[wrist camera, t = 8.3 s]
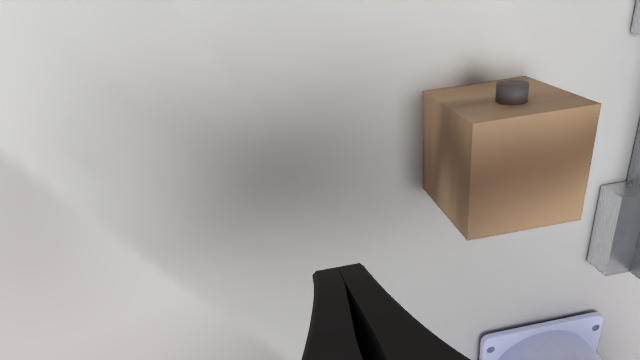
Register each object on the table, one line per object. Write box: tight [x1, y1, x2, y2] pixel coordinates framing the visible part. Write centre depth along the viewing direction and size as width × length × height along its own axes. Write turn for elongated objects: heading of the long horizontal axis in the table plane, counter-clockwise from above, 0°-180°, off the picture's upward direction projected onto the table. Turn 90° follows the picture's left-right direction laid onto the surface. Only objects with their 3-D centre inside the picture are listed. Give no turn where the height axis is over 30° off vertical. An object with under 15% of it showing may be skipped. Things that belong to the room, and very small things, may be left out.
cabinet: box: [423, 76, 601, 240], centre depth 19 cm, size 6×5×5 cm
